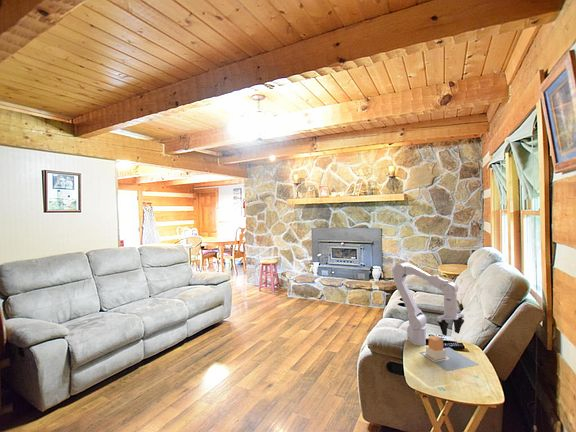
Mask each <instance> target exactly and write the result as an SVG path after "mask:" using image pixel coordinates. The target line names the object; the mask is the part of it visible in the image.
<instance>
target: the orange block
mask: <svg viewBox="0 0 576 432" xmlns="http://www.w3.org/2000/svg"><path fill="white" fill-rule="evenodd" d="M428 346H429V347H430V348H431V349H433V350H434V351H439V350H443V348H444V339H443V338H441V337H440V336H437V335H433V336H432V335H431V336H428Z"/></svg>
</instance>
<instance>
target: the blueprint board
mask: <svg viewBox="0 0 576 432" xmlns="http://www.w3.org/2000/svg"><path fill="white" fill-rule="evenodd" d="M443 349H445V355H446V358H444V359H439V360H434V359H433V358H431V357H430V356H428V355H427V354H426V351H421V352H420V351H419V354H420V355H421V356H423V357H425V358H426V359H428V360H429V361H431V362H432V363H434V364H435V365H437V366H438V367H439V368H440V369H442V370H444V371H446V372H451V371H455V370H460V369H465V368H470V367H475V366H479V365H480V364H479V363H477V362H476V361H474V360H473V359H470V358H469V357H468V356H467V357H466V356H465V355H464V354H462V353H459V352H458V351H456V350H454V349H453V348H451V347H449V346H448V347H443Z"/></svg>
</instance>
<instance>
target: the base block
mask: <svg viewBox="0 0 576 432" xmlns="http://www.w3.org/2000/svg"><path fill="white" fill-rule="evenodd" d="M425 346H426V347H425V349H426V350H425V352H426V354H427V355H428V356H430V357H431V358H433V359H434V360H439V359H444V358H446V355H445V349H443V350H439V351H434V350H433V349H431V348H430V347H429V345H425Z"/></svg>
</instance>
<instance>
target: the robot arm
mask: <svg viewBox="0 0 576 432" xmlns="http://www.w3.org/2000/svg"><path fill="white" fill-rule="evenodd" d="M392 273H393V283H394V285H395V287H396V289H397V291H398V293H399V295H400V297H401V300H402V301H403V304H404V306H405V308H406V310H407V318H408V327H407V329H406V337H407V338H406V340H408V341H409V342H410V343H411V344H413V345H414V346H420V347H422V346H423V347H424V346H426V344H427V343H426V341H427V340H426V339H427V338H426V337H427V336H426V329H427V327H426V324H427V323H428V318H427V316H426V315H425V314H424V313H423V311H422V310H421V308H418V305H417V303H416V301H415V300H414V298H413V296H412V293H411V291H410V289H409V287H408V285H407V283H406V279H407V277H408V275H414V276H417V277H418V278H421V279H422V280H424V281H427V282H428V285H429V286H432V287H433V288H436V290H437V289H438V290H439V291H441V292H442V293H443V314H441V315H439V316H436V322H437V323H438V325H439V327H440V330H441V334H442V335H443V336H445V337H447V335H448V327H449V324H450V323H448V322H447V321H450V320H453V321H452V322H453V325H454V326H453V328H454V333H455V334H460V332H461V329H462V326H463V324H464V323H465V319H464V318H465V315H464V313H460V312H459V313H458V298H457V292H458V291H459V286H458V285H457V283H455V282H454V281H449V280H448V279H444V278H442V277H440V275H439V274H429V273H428V272H426V271H424V270H423V269H421V268H419V267H417V266H415V265H414V264H412V263H410V262H407V261H404V262H401V263H397V264H395V265H394V266H393V268H392Z"/></svg>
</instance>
